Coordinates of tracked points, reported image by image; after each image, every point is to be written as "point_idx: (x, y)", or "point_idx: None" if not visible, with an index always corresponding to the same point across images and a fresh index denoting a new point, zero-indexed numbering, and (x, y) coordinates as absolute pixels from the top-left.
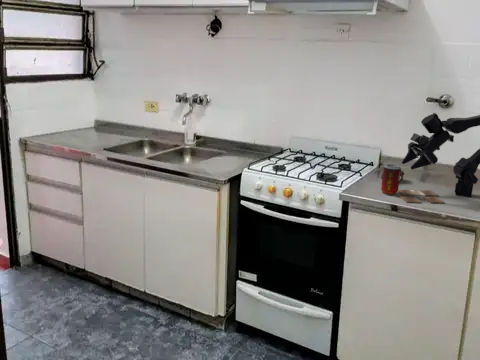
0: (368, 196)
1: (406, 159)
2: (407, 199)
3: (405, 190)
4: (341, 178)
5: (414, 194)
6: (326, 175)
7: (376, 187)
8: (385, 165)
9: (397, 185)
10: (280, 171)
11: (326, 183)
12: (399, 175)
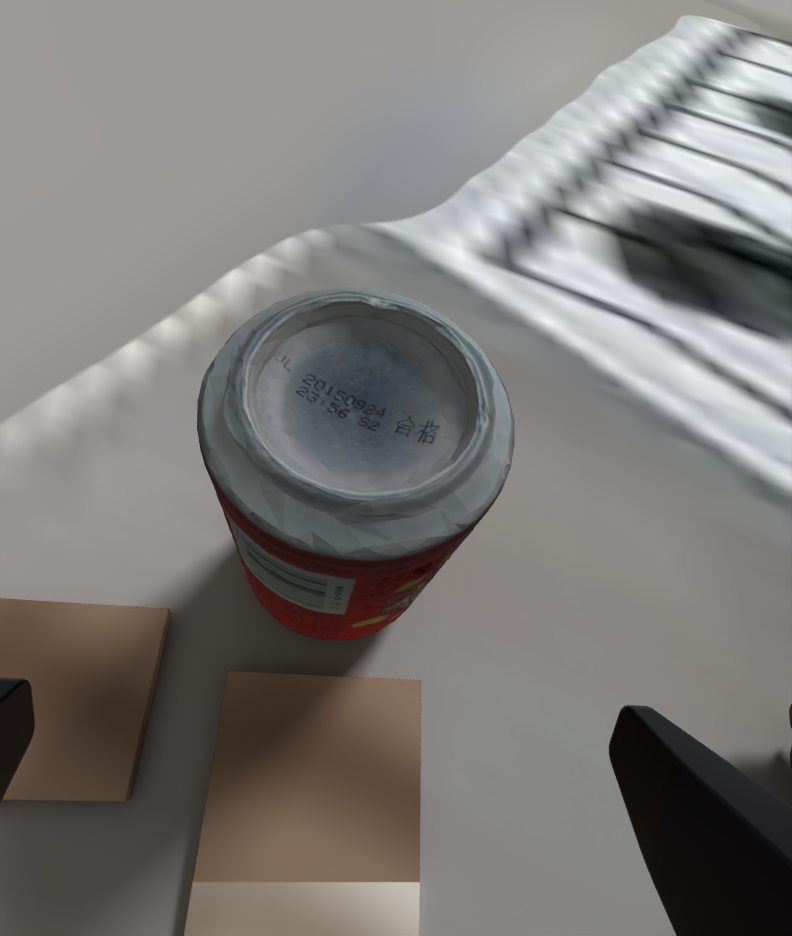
0: None
1: (719, 867)
2: (28, 637)
3: (393, 799)
4: (733, 350)
5: (209, 856)
6: (775, 287)
7: (527, 519)
8: (418, 307)
9: (247, 574)
10: (758, 113)
11: (568, 218)
12: (241, 545)
